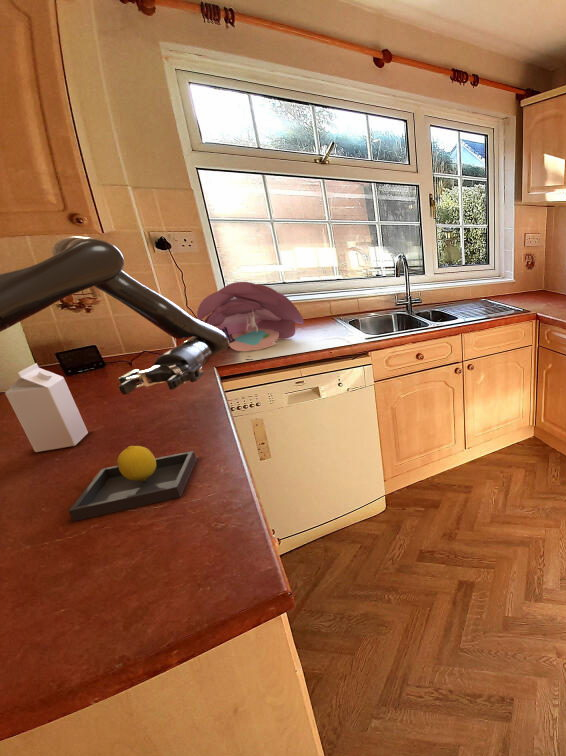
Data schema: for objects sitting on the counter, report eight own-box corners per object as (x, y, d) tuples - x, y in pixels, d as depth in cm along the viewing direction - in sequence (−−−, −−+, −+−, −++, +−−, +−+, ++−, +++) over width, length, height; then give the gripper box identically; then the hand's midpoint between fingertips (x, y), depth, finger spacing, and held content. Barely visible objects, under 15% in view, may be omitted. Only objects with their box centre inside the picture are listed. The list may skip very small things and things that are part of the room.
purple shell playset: (218, 369, 162) (190, 301, 146) (205, 345, 176) (177, 280, 161) (311, 342, 182) (294, 279, 166) (292, 323, 196) (275, 263, 180)
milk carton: (35, 453, 96) (-5, 375, 89) (51, 439, 102) (15, 365, 95) (75, 446, 99) (40, 370, 92) (88, 433, 105) (56, 361, 98)
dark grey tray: (73, 521, 74) (68, 510, 73) (105, 478, 86) (101, 468, 86) (180, 497, 80) (176, 487, 79) (196, 459, 92) (193, 450, 92)
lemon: (124, 492, 81) (108, 456, 78) (129, 478, 86) (114, 444, 83) (159, 482, 84) (146, 448, 81) (163, 469, 88) (150, 436, 85)
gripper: (141, 351, 100) (99, 375, 86) (209, 345, 104) (179, 367, 89) (152, 380, 103) (113, 408, 89) (217, 374, 107) (190, 399, 92)
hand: (146, 387), depth 89 cm, fingers open, 8 cm apart
